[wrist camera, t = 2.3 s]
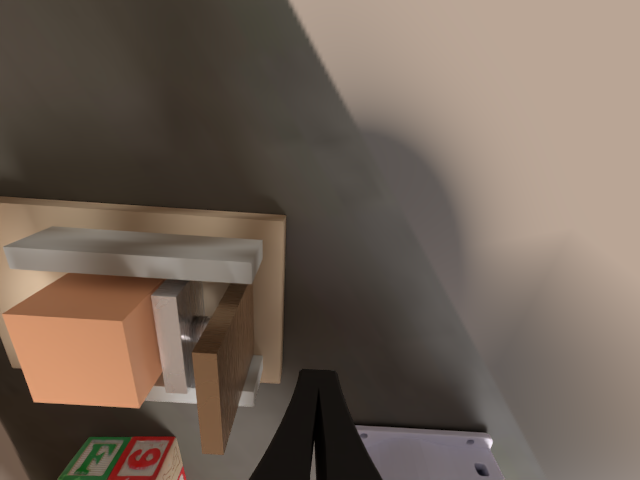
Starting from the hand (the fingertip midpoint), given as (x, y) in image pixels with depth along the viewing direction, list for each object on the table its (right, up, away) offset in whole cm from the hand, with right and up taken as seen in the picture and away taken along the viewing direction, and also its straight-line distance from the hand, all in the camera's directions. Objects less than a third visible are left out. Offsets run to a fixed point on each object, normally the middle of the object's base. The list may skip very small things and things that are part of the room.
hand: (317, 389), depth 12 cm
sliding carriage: (-5, +2, +4) cm, 7 cm away
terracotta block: (-10, +2, +5) cm, 11 cm away
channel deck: (-10, +3, +6) cm, 11 cm away
